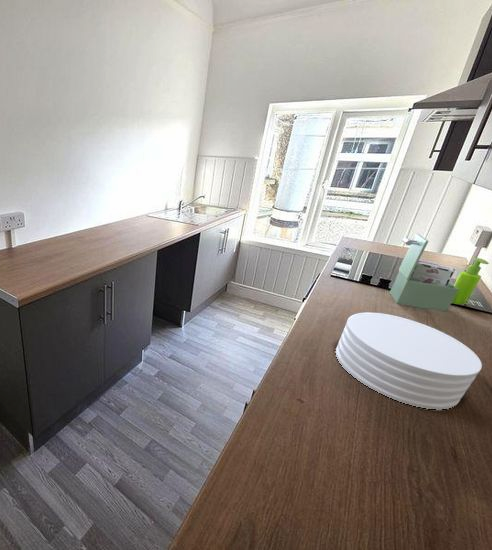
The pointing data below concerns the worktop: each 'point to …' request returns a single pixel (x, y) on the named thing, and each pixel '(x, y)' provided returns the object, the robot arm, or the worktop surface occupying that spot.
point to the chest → (422, 294)
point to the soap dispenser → (467, 281)
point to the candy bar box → (432, 274)
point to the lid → (412, 254)
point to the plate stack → (407, 360)
